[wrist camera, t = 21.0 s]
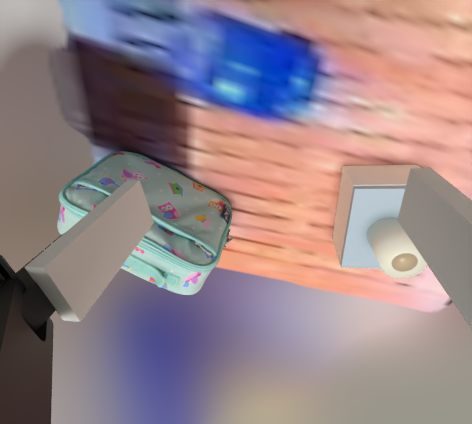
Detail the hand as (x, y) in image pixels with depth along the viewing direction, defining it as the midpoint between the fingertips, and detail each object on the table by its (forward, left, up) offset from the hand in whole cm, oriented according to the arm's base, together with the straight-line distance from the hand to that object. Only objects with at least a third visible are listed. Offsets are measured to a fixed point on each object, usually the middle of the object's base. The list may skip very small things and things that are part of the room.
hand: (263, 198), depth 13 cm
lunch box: (+17, -20, -35) cm, 43 cm away
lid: (+20, +18, -26) cm, 37 cm away
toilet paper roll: (+20, +18, -25) cm, 37 cm away
